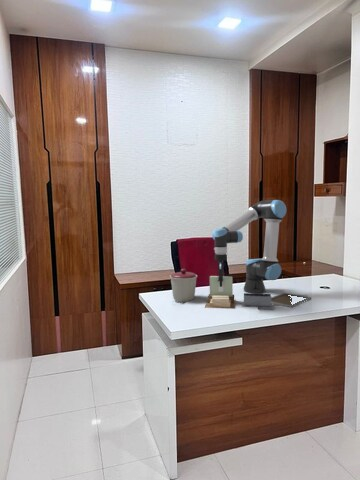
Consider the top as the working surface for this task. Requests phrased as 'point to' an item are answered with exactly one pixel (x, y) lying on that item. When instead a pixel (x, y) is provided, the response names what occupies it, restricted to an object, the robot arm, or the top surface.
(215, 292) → the panel
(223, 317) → the top surface
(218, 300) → the offcut upper
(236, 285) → the top surface
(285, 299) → the grey brown flat board
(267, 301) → the stand
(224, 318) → the top surface
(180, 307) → the top surface
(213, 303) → the offcut lower
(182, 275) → the canister
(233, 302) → the rack
